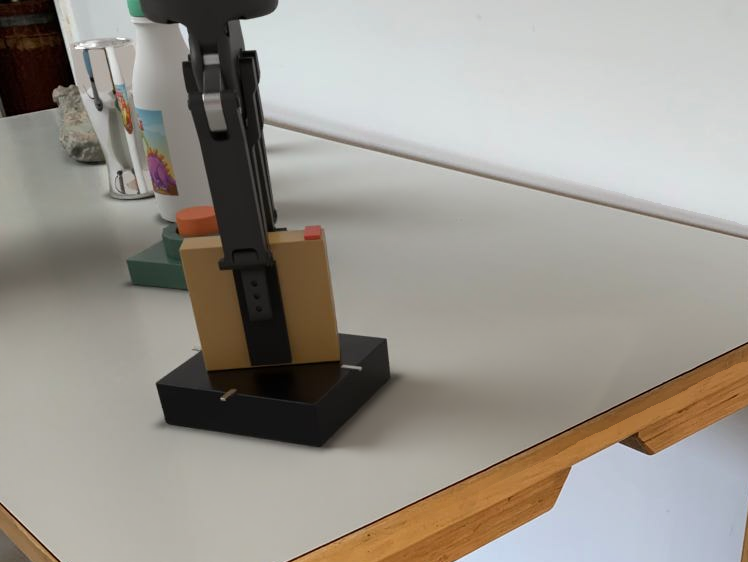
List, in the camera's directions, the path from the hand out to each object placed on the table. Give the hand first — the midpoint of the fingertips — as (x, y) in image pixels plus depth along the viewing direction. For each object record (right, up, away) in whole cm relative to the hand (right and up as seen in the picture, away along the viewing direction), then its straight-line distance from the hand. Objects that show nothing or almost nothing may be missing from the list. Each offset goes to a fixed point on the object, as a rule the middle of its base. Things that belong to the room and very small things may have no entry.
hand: (273, 352), depth 67 cm
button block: (-11, +14, +24) cm, 30 cm away
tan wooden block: (0, 0, 0) cm, 0 cm away
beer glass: (-26, +32, +47) cm, 62 cm away
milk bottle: (-17, +26, +39) cm, 50 cm away
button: (-11, +17, +22) cm, 30 cm away
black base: (0, -3, +2) cm, 4 cm away
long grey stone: (-40, +51, +71) cm, 96 cm away
